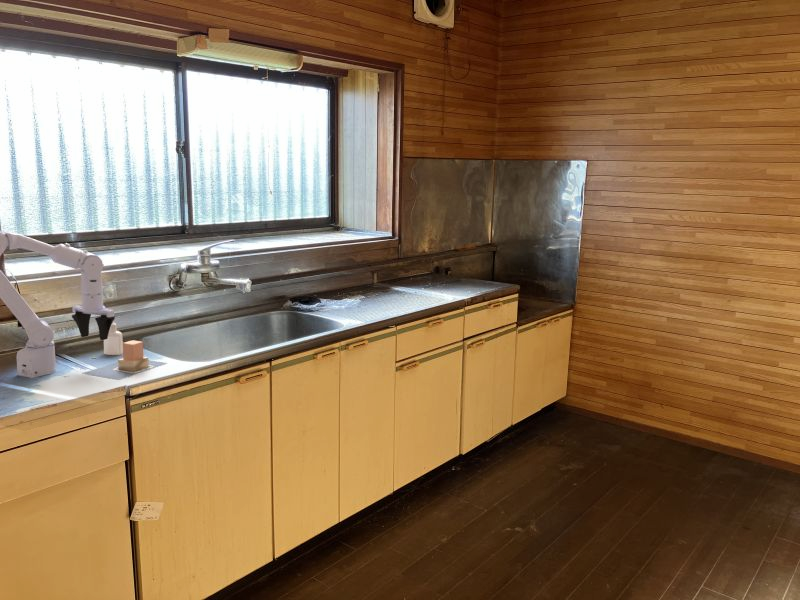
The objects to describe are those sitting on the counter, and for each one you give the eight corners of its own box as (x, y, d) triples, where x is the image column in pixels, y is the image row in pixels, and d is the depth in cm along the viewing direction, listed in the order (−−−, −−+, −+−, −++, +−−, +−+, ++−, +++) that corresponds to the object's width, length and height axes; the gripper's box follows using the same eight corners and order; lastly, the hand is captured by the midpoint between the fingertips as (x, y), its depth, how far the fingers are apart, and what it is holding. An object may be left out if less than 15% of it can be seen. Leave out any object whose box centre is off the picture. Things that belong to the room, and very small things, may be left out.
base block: (134, 371, 189) (133, 362, 189) (118, 369, 191) (118, 359, 191) (148, 366, 195) (148, 357, 194) (133, 364, 197) (133, 355, 196)
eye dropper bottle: (112, 358, 205) (111, 322, 203) (102, 355, 208) (100, 319, 206) (125, 355, 209) (123, 320, 207) (114, 353, 212) (113, 317, 210)
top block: (133, 360, 190) (133, 344, 189) (123, 359, 191) (122, 343, 191) (143, 357, 194) (142, 341, 193) (133, 356, 195) (132, 340, 194)
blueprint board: (118, 382, 181) (118, 379, 181) (81, 375, 186) (81, 372, 186) (167, 365, 200) (167, 362, 200) (132, 359, 205) (132, 357, 204)
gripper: (121, 294, 192) (123, 337, 194) (84, 289, 197) (87, 332, 199) (102, 297, 185) (104, 342, 188) (65, 292, 190) (68, 337, 193)
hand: (94, 337), depth 193 cm, fingers open, 7 cm apart
